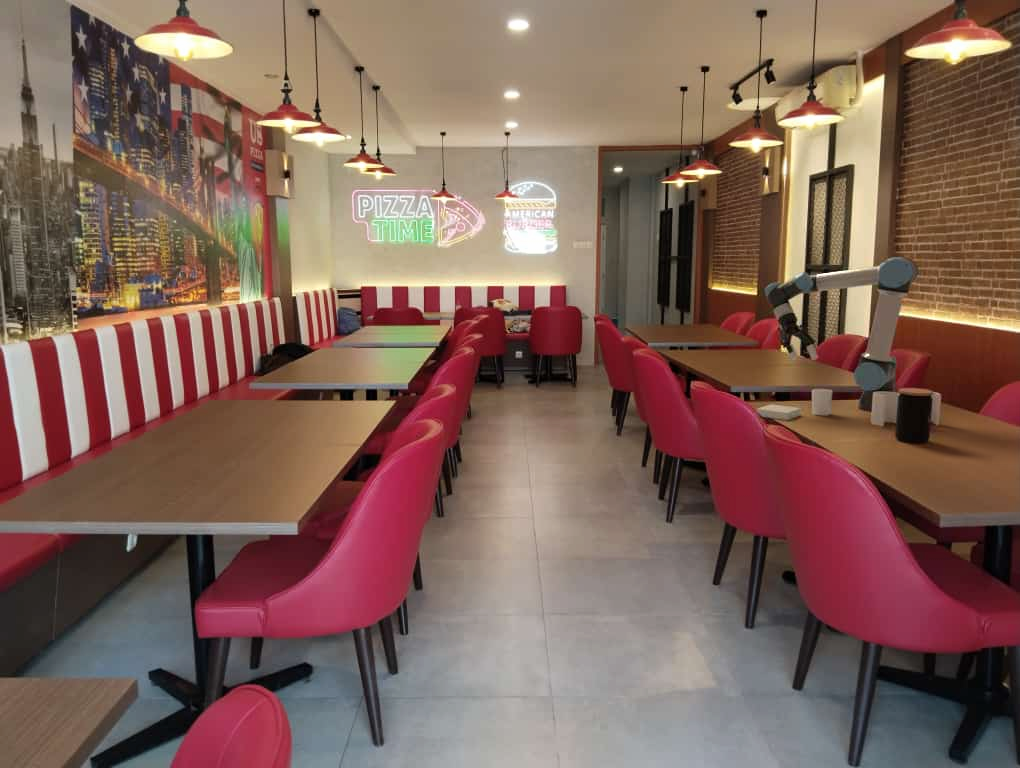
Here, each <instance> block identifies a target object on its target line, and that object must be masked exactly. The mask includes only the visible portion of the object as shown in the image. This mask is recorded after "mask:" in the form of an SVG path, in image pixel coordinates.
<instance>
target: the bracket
mask: <svg viewBox="0 0 1020 768" xmlns="http://www.w3.org/2000/svg"><path fill="white" fill-rule="evenodd" d="M899 395H900V393H899V392H895V391H894V392H873V400H872V411H871V416H870V423H872V425H875V426H878V425H879V426H878V427H882V426H883V427H885V423H891V422H892V423H893V424H895V423H896V418H897V404H898V396H899ZM931 397H932V411H931V422H933V423H932V424H933V425H934V424H936V425H935V426H939V424H940V414H941V413H940V412H941V402H942V394H940V393H939V392H934V391H933V394H932V395H931Z"/></svg>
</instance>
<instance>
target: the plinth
mask: <svg viewBox="0 0 1020 768" xmlns="http://www.w3.org/2000/svg"><path fill="white" fill-rule="evenodd" d="M757 412H758V413H759V414H760V415H761V417H763V418H766V419H767V418H768V419H777V420H781V419H782V421H789V420H791V419H794V418H797V417H799V416H801V412H802V408H801V407H795V406H787V405H779V404H778V405H777V404H768V405H764V406H761V407H758V408H756V413H757Z"/></svg>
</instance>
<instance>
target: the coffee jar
mask: <svg viewBox="0 0 1020 768" xmlns="http://www.w3.org/2000/svg"><path fill="white" fill-rule="evenodd" d="M933 392H934V391H932V390H930V389H926V388H916V387H905V388H904V387H903V388H899V389H898V393H900V395H899V396H898V404H897V418H896V424H895V432H894V433H895V434H894V436H895V438H896V440H897V439H898V440H897V441H899V440H900V441H899V442H902V441H903V442H902V443H907V442H910V443H909V444H926V443H927V442H928V441H929V439H930V435H931V434H930V433H931V411H932V397H931V395H932V394H933ZM925 442H926V443H925Z"/></svg>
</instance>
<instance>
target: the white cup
mask: <svg viewBox="0 0 1020 768" xmlns="http://www.w3.org/2000/svg"><path fill="white" fill-rule="evenodd" d="M832 399H833V390H832V389H826V388H813V389H812V390H811V413H812V414H813V415H815V416H829V415H830V414H831V407H832Z"/></svg>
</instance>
